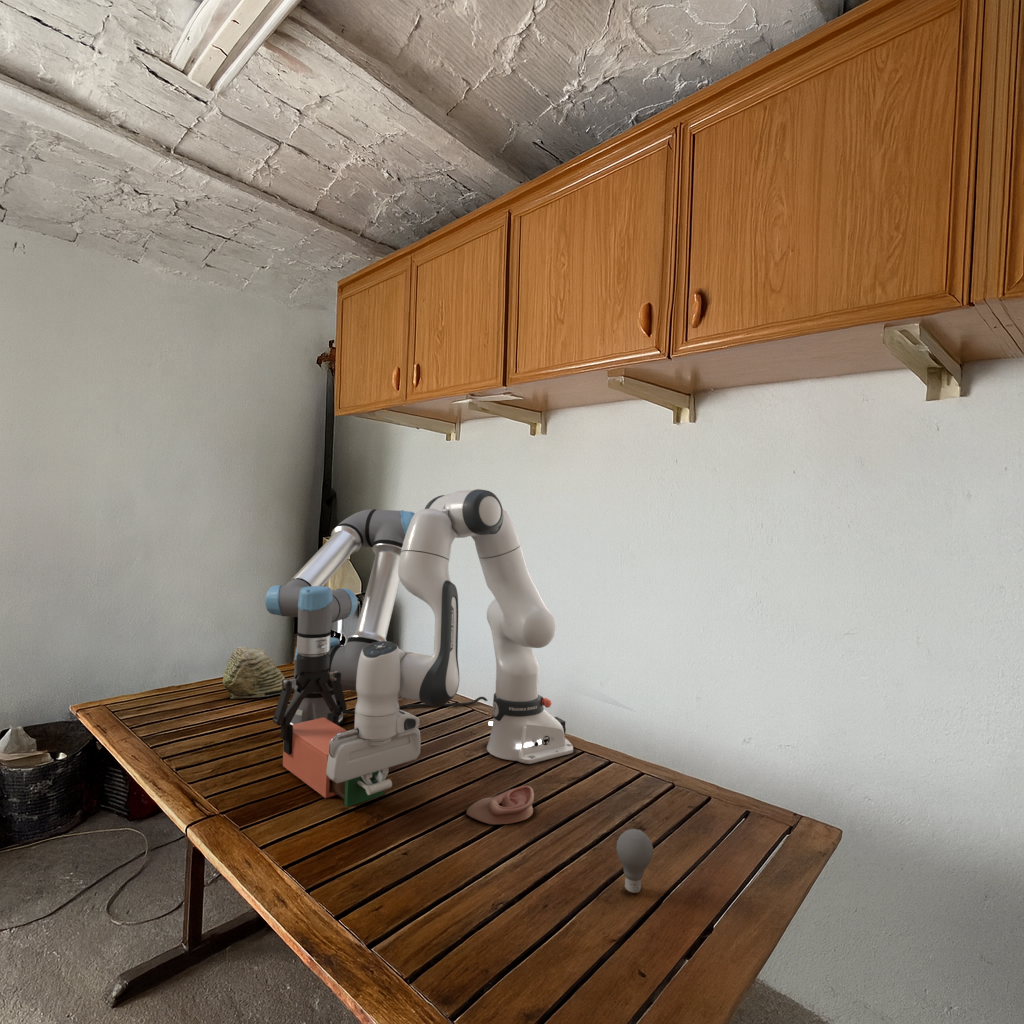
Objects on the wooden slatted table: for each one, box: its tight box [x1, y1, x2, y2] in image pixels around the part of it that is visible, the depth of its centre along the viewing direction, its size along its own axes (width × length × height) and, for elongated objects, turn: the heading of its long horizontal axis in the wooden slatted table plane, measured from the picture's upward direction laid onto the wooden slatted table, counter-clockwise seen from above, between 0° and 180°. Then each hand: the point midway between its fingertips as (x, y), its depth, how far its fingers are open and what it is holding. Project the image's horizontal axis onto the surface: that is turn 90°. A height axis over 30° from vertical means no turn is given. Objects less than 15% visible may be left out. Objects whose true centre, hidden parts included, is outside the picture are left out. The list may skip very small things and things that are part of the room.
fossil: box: [222, 646, 286, 699], centre depth 198 cm, size 9×18×15 cm, turn 132°
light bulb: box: [615, 828, 654, 894], centre depth 106 cm, size 6×6×10 cm
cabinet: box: [282, 717, 348, 799], centre depth 144 cm, size 21×10×9 cm, turn 44°
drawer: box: [329, 771, 393, 808], centre depth 136 cm, size 25×9×8 cm, turn 44°
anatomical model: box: [465, 785, 535, 825], centre depth 130 cm, size 13×4×12 cm
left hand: (309, 746), depth 149 cm, fingers closed on cabinet, 10 cm apart
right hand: (374, 790), depth 129 cm, fingers closed, pressing on drawer
